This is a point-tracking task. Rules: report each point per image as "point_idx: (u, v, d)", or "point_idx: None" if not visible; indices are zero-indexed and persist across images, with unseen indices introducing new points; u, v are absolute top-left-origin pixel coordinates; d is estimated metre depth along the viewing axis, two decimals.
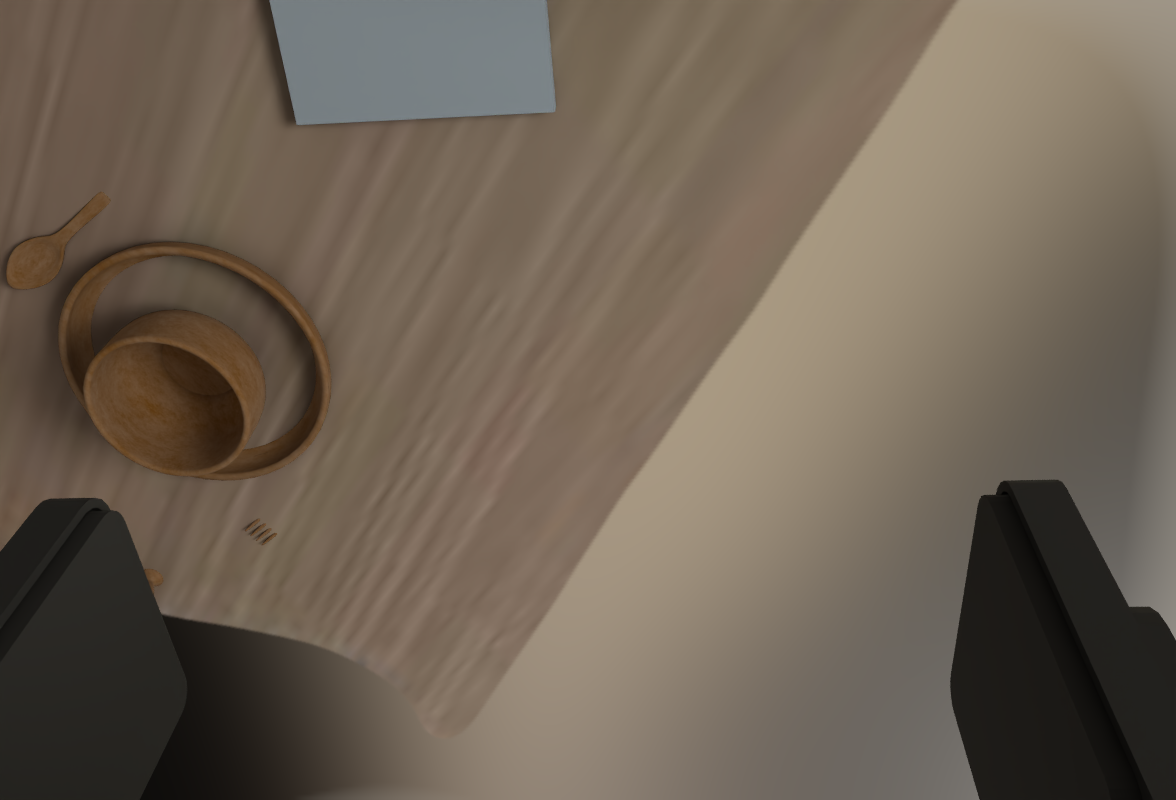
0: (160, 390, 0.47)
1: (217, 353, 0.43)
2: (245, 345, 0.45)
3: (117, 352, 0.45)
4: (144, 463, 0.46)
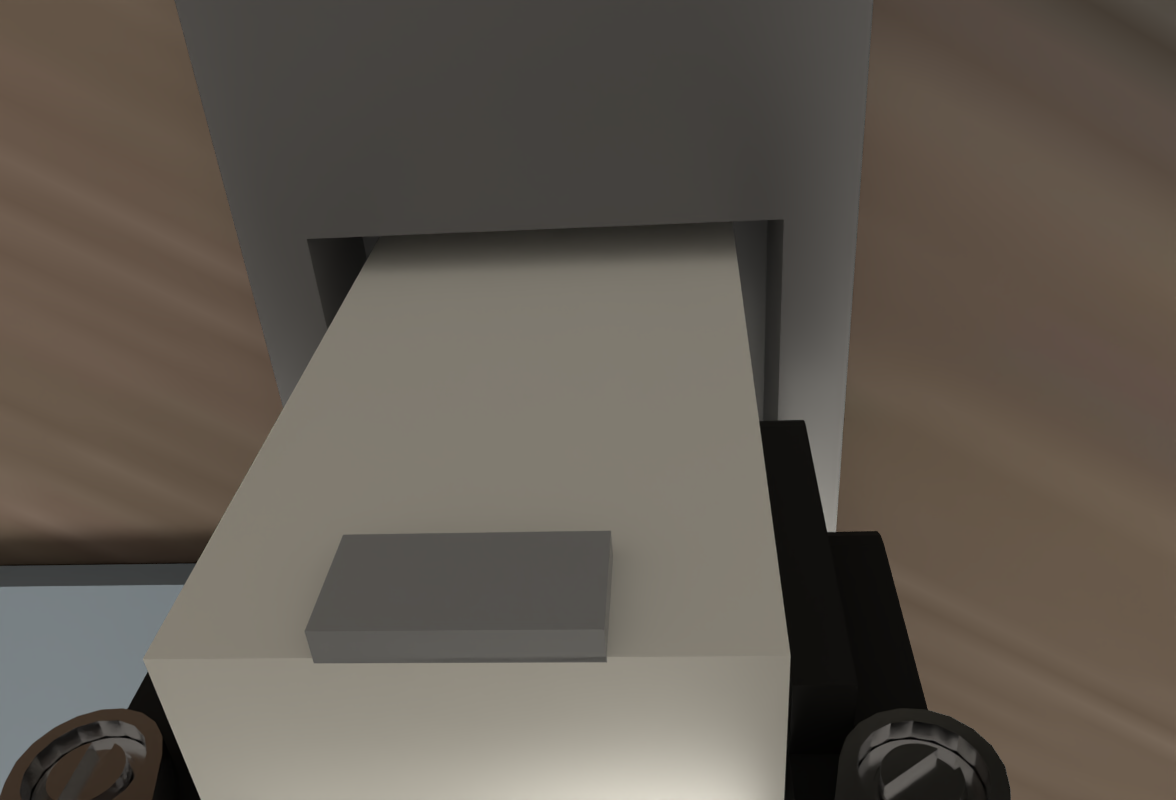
0: None
1: None
2: None
3: None
4: None
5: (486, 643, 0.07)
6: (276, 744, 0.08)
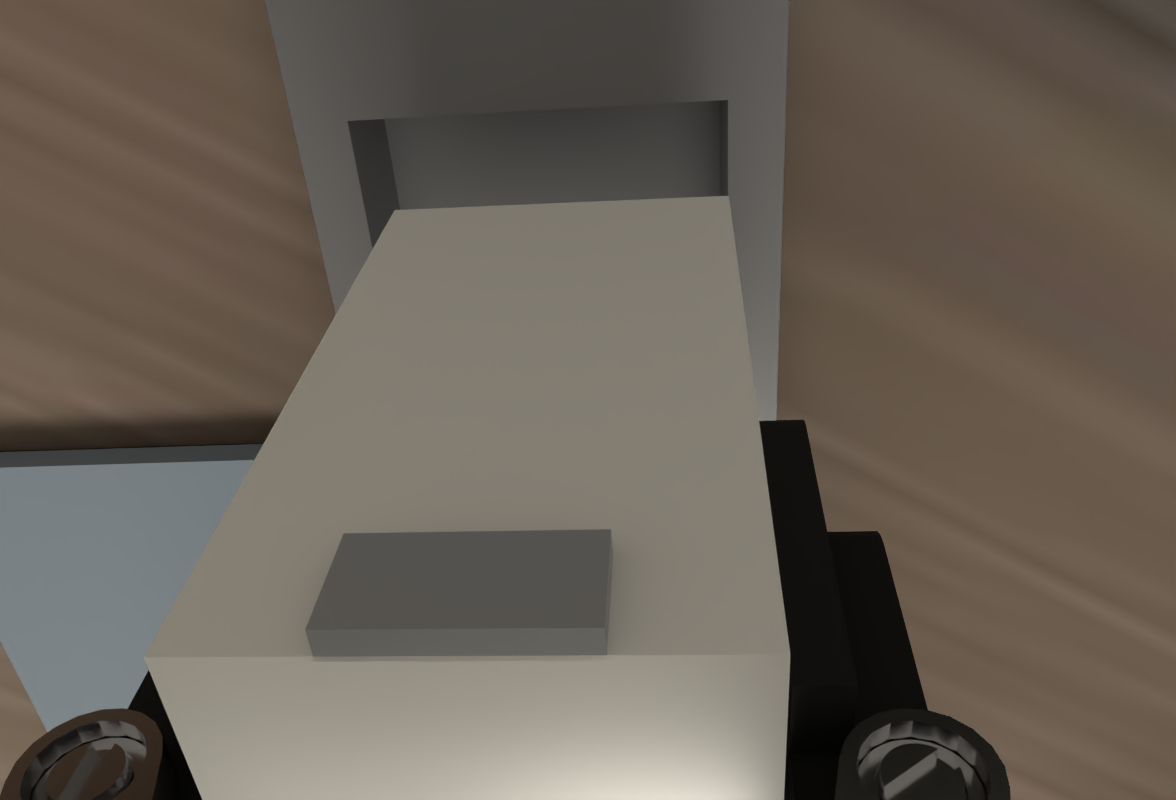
0: None
1: None
2: None
3: None
4: None
5: (486, 641, 0.07)
6: (276, 742, 0.08)
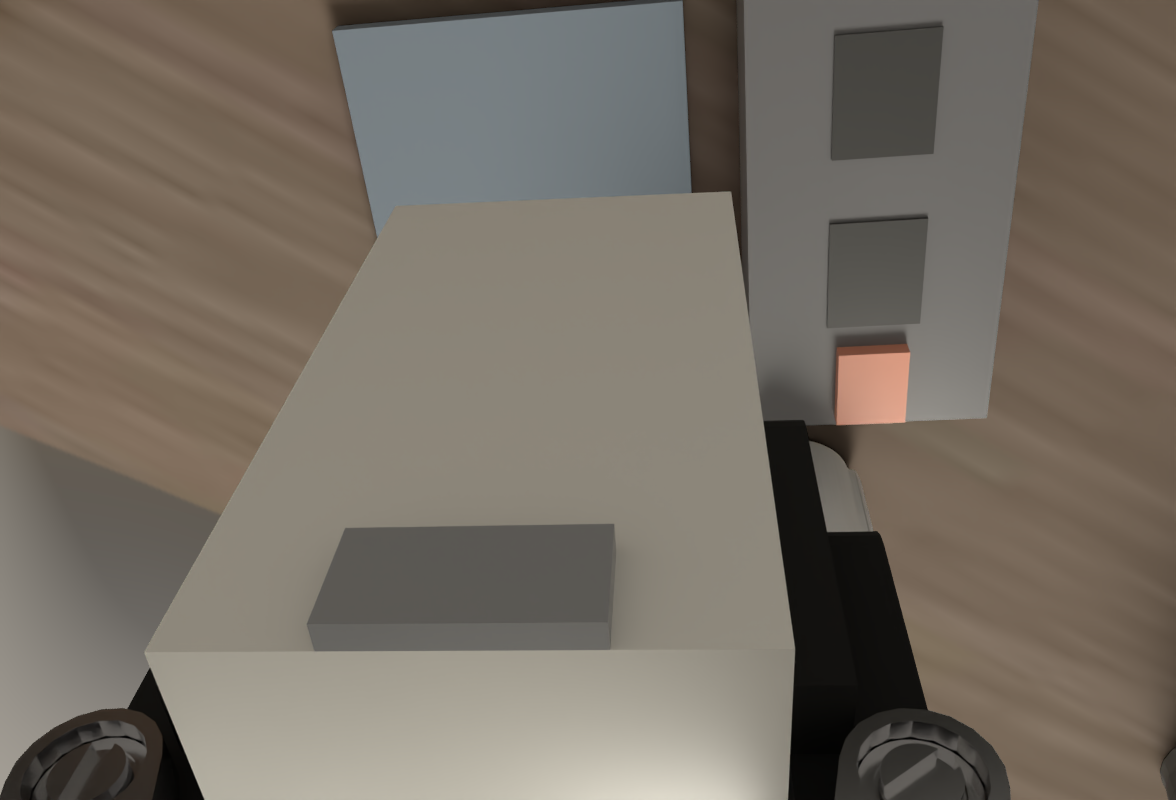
0: None
1: None
2: None
3: None
4: None
5: (489, 637, 0.07)
6: (278, 738, 0.08)
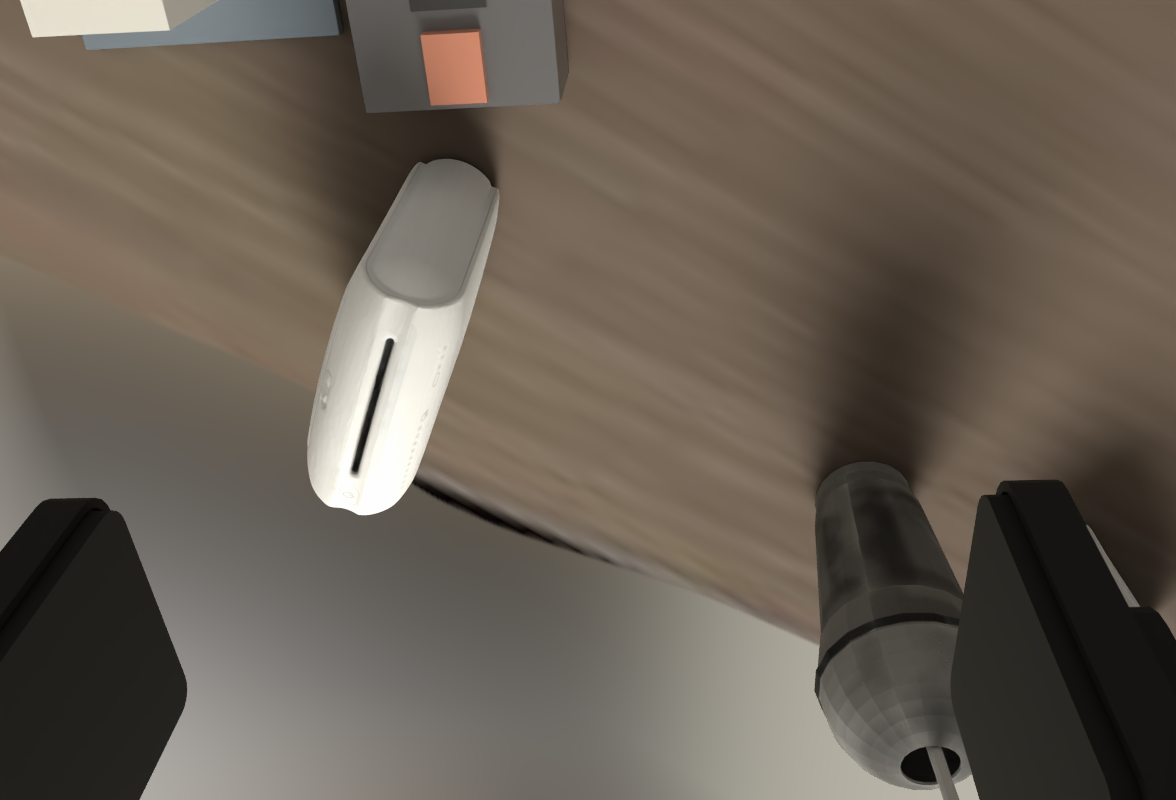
0: None
1: None
2: None
3: None
4: None
5: None
6: None
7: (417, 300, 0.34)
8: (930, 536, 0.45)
